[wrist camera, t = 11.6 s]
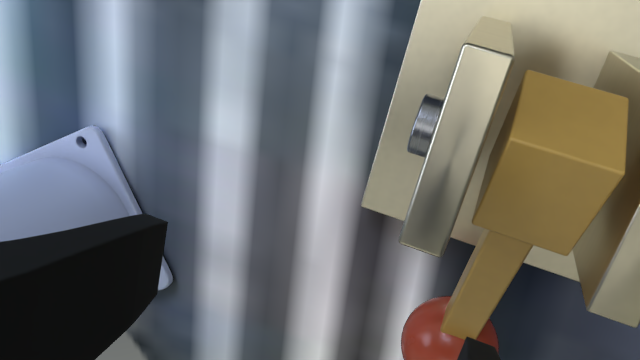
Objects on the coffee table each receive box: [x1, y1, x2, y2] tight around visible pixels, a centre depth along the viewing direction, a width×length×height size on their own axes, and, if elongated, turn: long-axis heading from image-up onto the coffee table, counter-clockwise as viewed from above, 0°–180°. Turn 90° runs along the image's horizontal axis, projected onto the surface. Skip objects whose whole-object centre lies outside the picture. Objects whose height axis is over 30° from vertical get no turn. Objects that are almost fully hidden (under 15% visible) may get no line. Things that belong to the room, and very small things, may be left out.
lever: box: [401, 70, 629, 360], centre depth 16 cm, size 12×3×3 cm, turn 166°
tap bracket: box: [361, 0, 640, 328], centre depth 16 cm, size 11×9×10 cm
